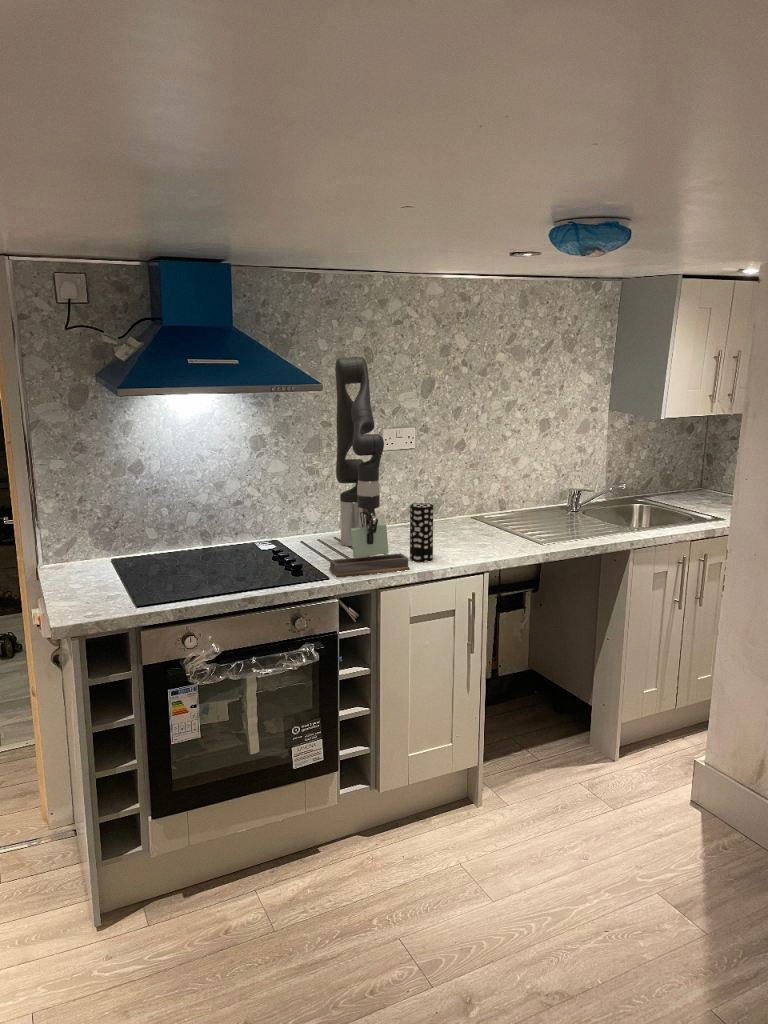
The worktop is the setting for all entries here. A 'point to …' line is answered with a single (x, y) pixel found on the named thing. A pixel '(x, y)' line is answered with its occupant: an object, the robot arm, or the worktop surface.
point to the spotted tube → (421, 532)
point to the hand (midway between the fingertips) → (368, 542)
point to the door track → (369, 565)
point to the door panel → (366, 549)
